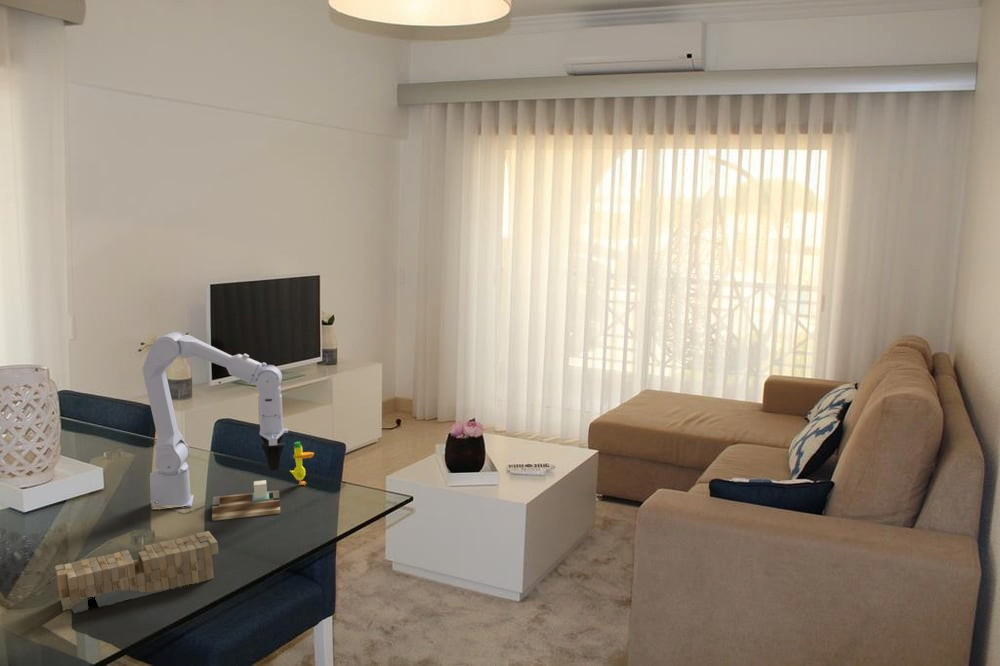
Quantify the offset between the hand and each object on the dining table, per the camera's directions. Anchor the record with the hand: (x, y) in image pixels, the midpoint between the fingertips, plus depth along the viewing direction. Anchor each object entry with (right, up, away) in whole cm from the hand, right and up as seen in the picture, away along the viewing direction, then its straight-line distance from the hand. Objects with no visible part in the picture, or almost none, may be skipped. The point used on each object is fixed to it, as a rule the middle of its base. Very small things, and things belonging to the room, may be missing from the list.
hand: (273, 465), depth 217 cm
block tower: (-14, -18, -48) cm, 53 cm away
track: (-5, -10, -5) cm, 13 cm away
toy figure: (+5, -7, +12) cm, 15 cm away
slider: (-2, -9, -4) cm, 10 cm away
